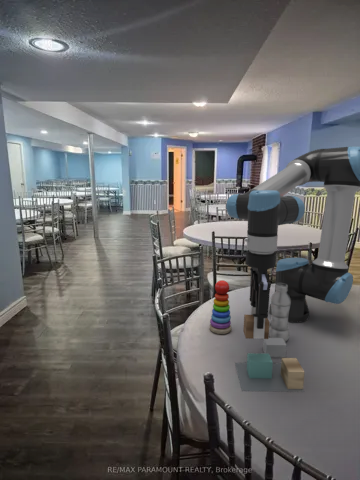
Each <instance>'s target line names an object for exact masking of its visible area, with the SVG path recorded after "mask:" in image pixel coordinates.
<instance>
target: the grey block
mask: <svg viewBox="0 0 360 480" xmlns="http://www.w3.org/2000/svg"><path fill="white" fill-rule="evenodd" d="M262 340H263V341H262V351H263V354H269V355H270V357H271V358H287V346H288V345H287V343H286V342H285V341H284V340H283V338H270V337H268V339H262Z"/></svg>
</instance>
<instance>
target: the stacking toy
mask: <svg viewBox="0 0 360 480" xmlns="http://www.w3.org/2000/svg"><path fill="white" fill-rule="evenodd" d="M214 289H215V294H214V299H213V304H212V308H213V309H212V311H211V313H212V314H211V316H210V317H211V319H210V321H209V330H210V331H211V332H213V333H214V334H218V335H226V334H229V333H231V331H232V325H231V324H232V322H231V318H232V317H231V310H230V309H231V306H230V300H229V299H230V296H229V294H228V292H229V290H230V284H229V282H227V280H219V281H216V283H215V286H214Z"/></svg>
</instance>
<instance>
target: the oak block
mask: <svg viewBox="0 0 360 480" xmlns="http://www.w3.org/2000/svg"><path fill="white" fill-rule="evenodd" d="M280 363H281V376H282V378H283V380H284V383H285V385H286V387H287V389H303V390H304V385H305V384H304V383H305V370H304V368H303V367H302V365H301V364H300V362H299V360H298V358H297V357H281V361H280Z"/></svg>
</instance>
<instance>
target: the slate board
mask: <svg viewBox="0 0 360 480" xmlns="http://www.w3.org/2000/svg"><path fill="white" fill-rule="evenodd" d="M234 365H235V369H236V374H237V378H238V382H239V385H240V389H241V392H278V393H279V392H281V393H282V392H283V393H284V392H286V393H289V392H290V393H291V392H293V393H304V392H305V390H304V388H303V389H287V387H286V385H285V383H284V380H283V378H282V376H281V362H273V365H272V379H269V378H249V375H248V372H247V362H234Z"/></svg>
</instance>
